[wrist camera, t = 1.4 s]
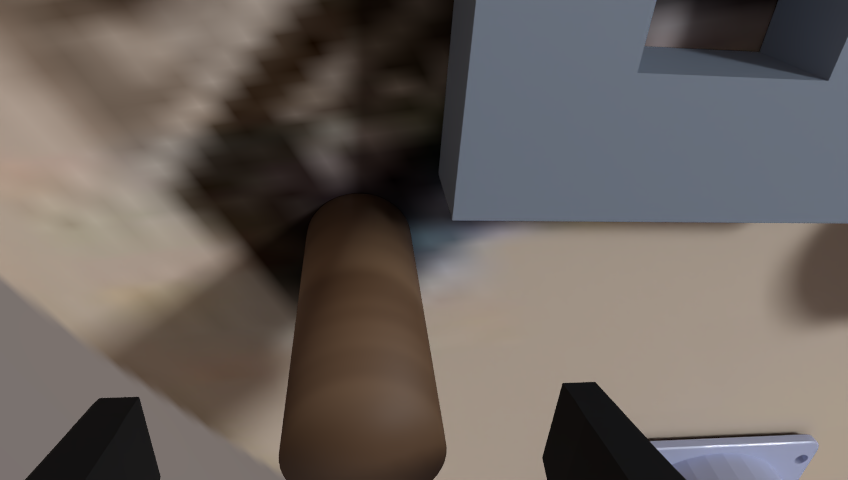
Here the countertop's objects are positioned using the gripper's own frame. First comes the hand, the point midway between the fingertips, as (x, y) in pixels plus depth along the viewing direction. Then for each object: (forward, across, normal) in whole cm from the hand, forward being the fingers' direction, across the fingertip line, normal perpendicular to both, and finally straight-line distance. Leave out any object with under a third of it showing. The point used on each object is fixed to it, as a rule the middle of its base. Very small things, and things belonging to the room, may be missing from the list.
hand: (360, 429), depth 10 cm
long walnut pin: (+6, 0, 0) cm, 6 cm away
